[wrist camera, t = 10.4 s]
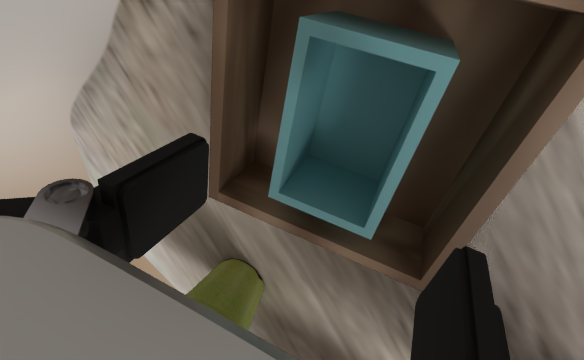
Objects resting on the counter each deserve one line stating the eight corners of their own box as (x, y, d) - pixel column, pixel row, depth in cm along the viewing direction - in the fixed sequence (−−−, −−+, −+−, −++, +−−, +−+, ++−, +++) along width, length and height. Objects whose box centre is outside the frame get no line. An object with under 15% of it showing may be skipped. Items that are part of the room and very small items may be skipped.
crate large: (586, -5, 14) (663, -4, 9) (429, 232, 23) (427, 293, 18) (276, -70, 17) (215, -94, 12) (249, 160, 26) (208, 196, 22)
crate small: (453, 40, 16) (460, 60, 11) (385, 186, 22) (371, 239, 17) (336, 10, 17) (299, 16, 13) (302, 155, 23) (268, 196, 18)
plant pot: (208, 234, 34) (150, 295, 27) (283, 268, 32) (241, 343, 25) (208, 283, 39) (160, 344, 32) (272, 315, 37) (236, 388, 30)
